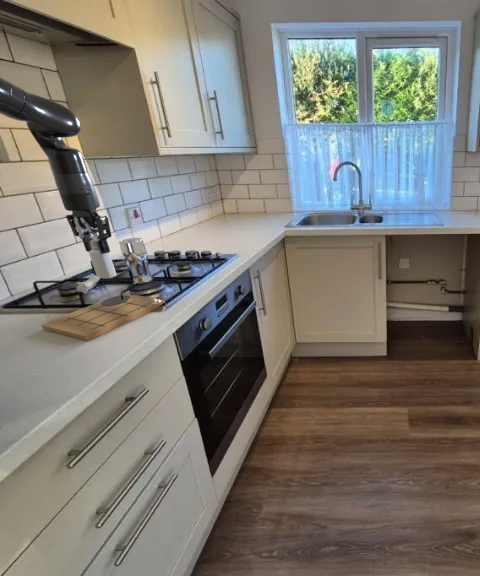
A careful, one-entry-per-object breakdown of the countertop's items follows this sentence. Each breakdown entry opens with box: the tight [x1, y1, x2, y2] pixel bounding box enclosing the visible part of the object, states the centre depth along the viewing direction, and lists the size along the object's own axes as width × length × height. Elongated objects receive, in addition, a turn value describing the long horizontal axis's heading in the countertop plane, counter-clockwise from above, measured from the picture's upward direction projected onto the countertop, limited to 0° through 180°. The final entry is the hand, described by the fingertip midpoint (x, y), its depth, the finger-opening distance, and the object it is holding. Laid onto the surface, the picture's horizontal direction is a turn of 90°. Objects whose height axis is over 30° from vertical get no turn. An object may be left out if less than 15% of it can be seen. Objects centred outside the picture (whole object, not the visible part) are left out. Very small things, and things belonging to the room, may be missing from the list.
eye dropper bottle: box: [88, 235, 117, 280], centre depth 102 cm, size 4×6×12 cm
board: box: [41, 292, 166, 342], centre depth 101 cm, size 22×18×2 cm
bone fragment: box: [74, 275, 101, 295], centre depth 120 cm, size 5×11×4 cm, turn 18°
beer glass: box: [118, 237, 154, 285], centre depth 123 cm, size 7×7×15 cm
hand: (98, 251), depth 102 cm, fingers closed on eye dropper bottle, 5 cm apart
